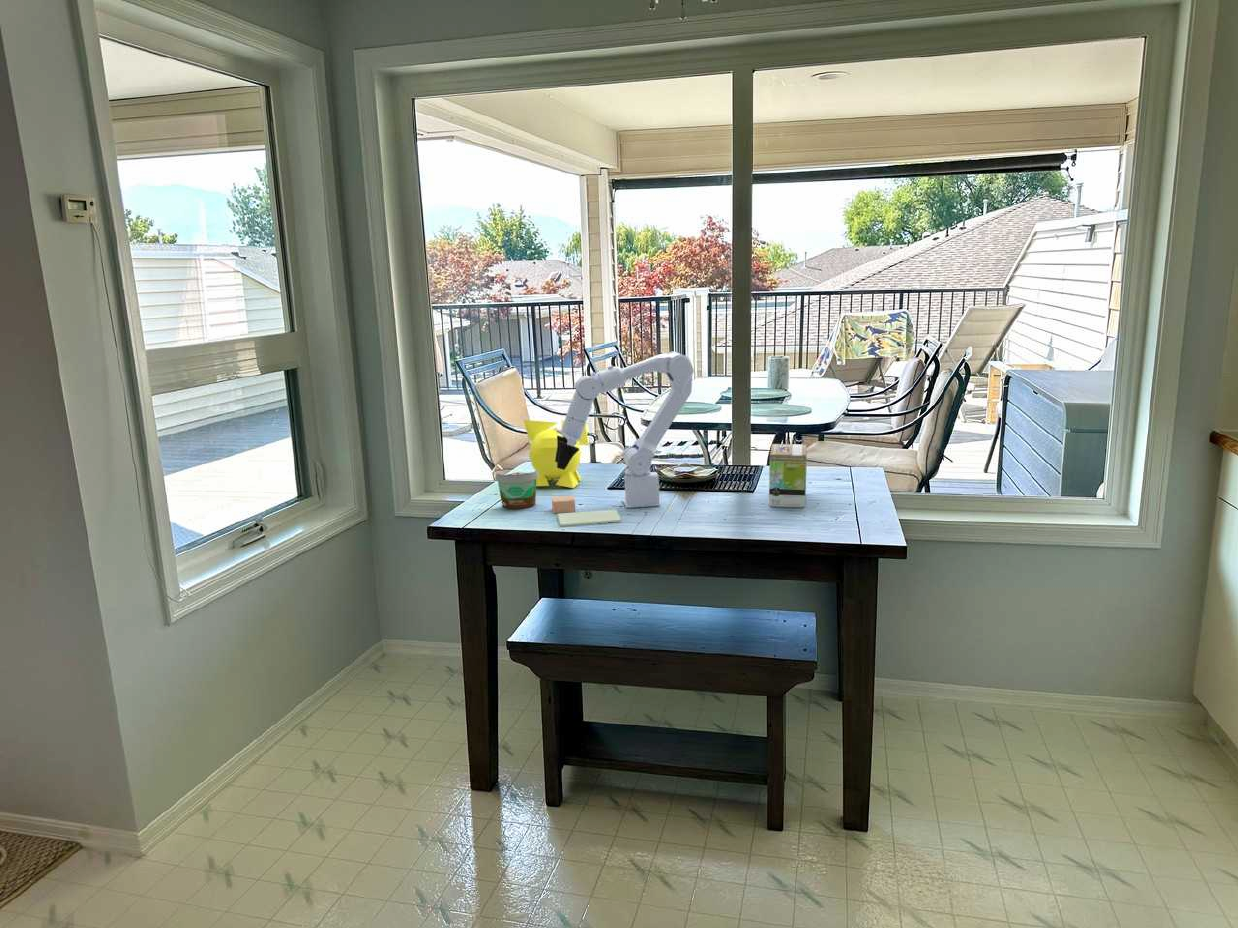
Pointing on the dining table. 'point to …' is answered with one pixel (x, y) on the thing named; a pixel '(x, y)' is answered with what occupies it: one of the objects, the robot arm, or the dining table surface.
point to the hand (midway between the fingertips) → (559, 465)
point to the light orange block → (563, 504)
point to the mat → (588, 517)
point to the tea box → (787, 475)
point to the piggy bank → (552, 454)
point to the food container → (517, 490)
